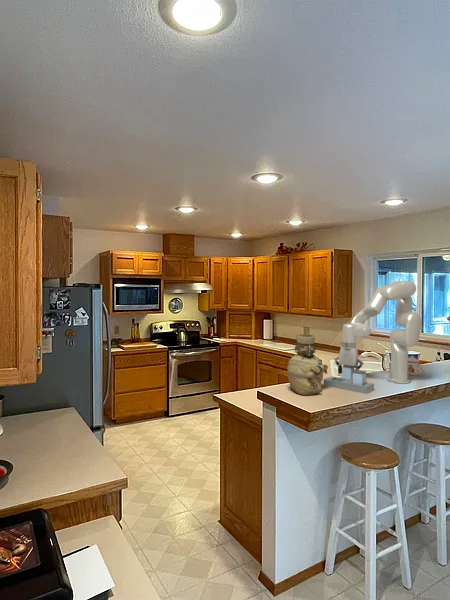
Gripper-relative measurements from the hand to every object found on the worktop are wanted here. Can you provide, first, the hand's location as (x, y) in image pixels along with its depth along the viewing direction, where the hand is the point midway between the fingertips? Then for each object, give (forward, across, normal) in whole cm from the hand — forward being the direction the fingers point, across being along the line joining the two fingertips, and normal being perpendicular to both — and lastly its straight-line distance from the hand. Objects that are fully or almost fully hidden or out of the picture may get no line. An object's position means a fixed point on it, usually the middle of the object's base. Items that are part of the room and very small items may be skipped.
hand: (348, 374), depth 229 cm
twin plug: (+4, +12, -13) cm, 18 cm away
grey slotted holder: (+6, +6, -13) cm, 16 cm away
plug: (+5, 0, 0) cm, 5 cm away
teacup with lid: (+5, +20, +56) cm, 59 cm away
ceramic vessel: (+6, -10, -31) cm, 33 cm away
